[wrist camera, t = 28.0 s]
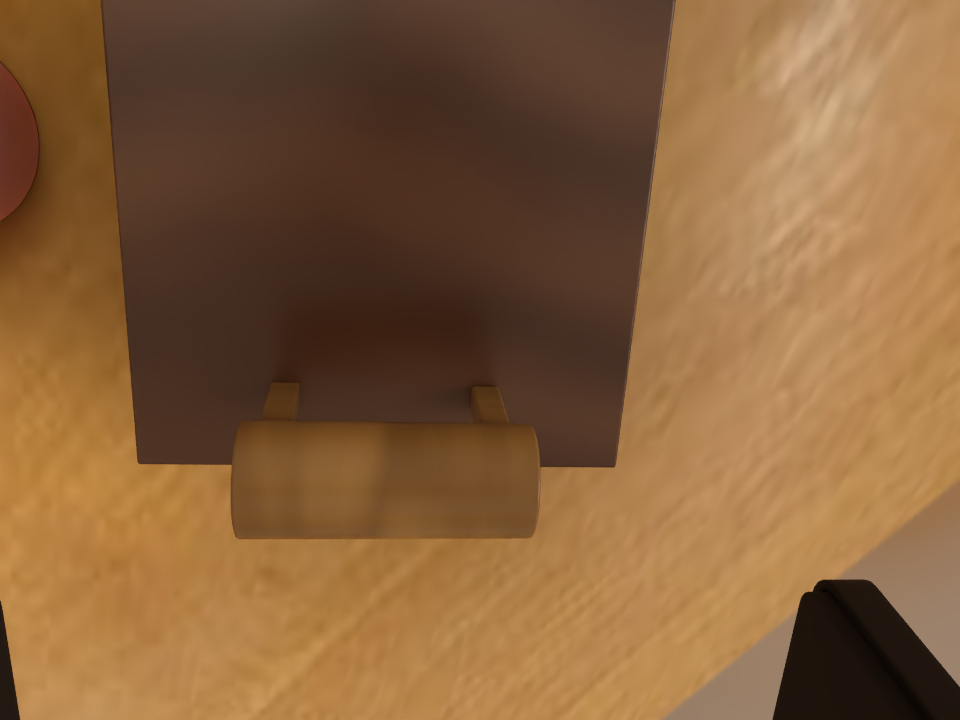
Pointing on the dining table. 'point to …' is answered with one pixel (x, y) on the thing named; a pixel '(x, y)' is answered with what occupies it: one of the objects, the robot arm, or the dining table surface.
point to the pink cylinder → (15, 144)
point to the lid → (383, 248)
